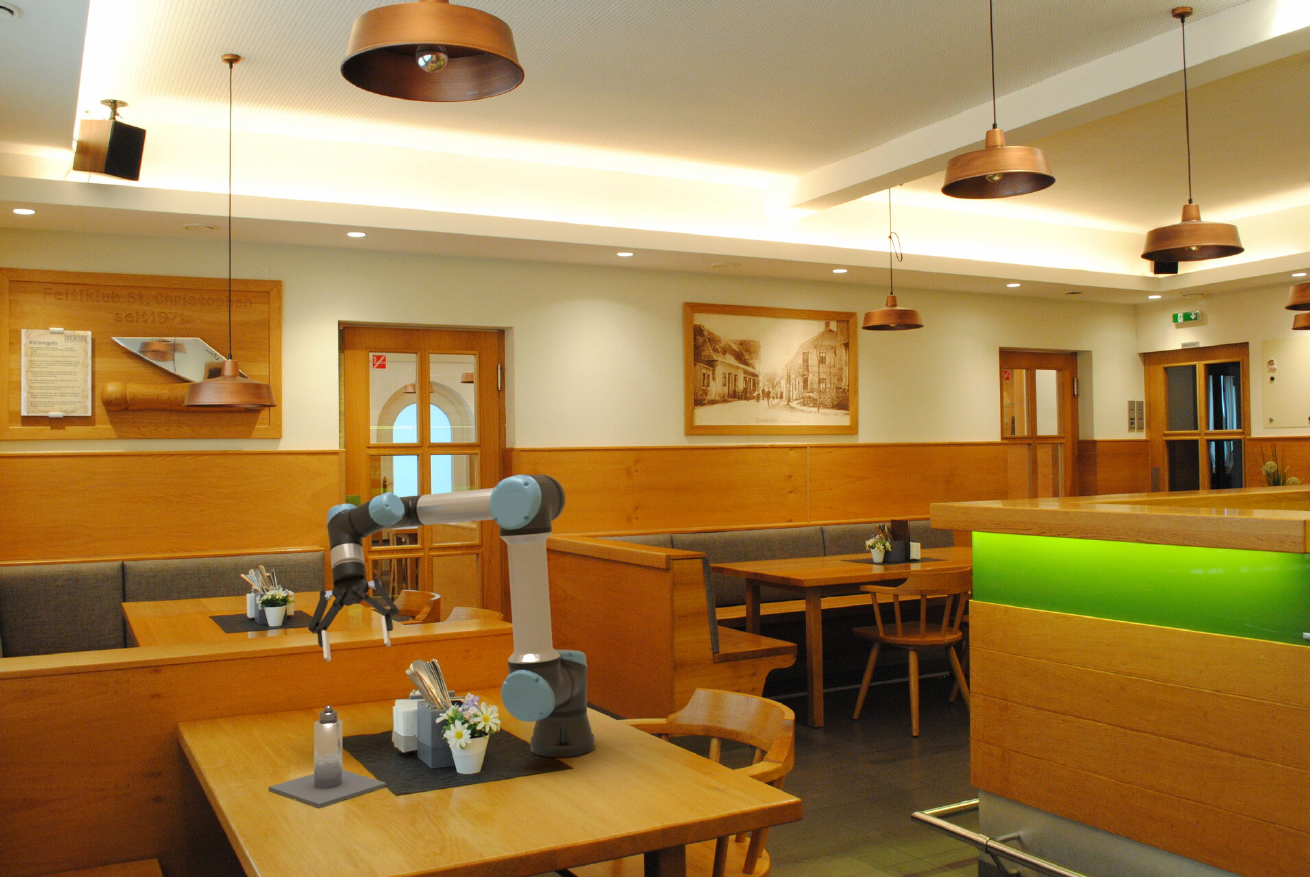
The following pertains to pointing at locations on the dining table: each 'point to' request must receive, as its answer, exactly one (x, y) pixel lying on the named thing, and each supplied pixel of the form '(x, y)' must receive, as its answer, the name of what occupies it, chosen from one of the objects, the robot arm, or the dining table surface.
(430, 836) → the dining table surface
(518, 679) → the robot arm
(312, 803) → the slate mat
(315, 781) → the pepper mill
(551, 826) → the dining table surface
